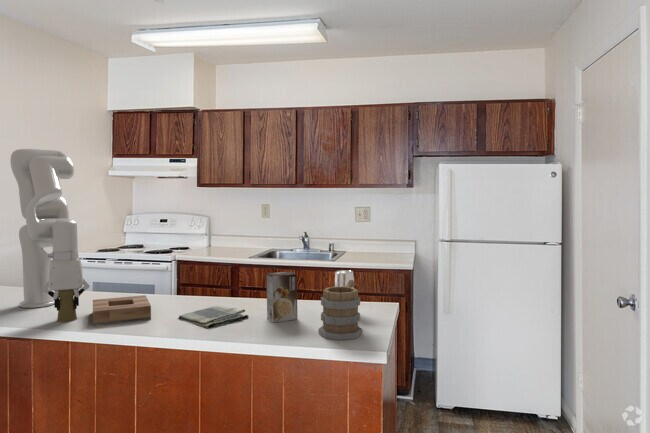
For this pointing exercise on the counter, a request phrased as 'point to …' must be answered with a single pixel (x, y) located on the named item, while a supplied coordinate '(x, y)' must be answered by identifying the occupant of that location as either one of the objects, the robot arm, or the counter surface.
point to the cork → (66, 306)
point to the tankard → (340, 313)
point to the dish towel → (214, 316)
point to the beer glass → (343, 277)
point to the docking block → (121, 310)
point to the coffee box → (281, 296)
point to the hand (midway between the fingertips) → (66, 308)
